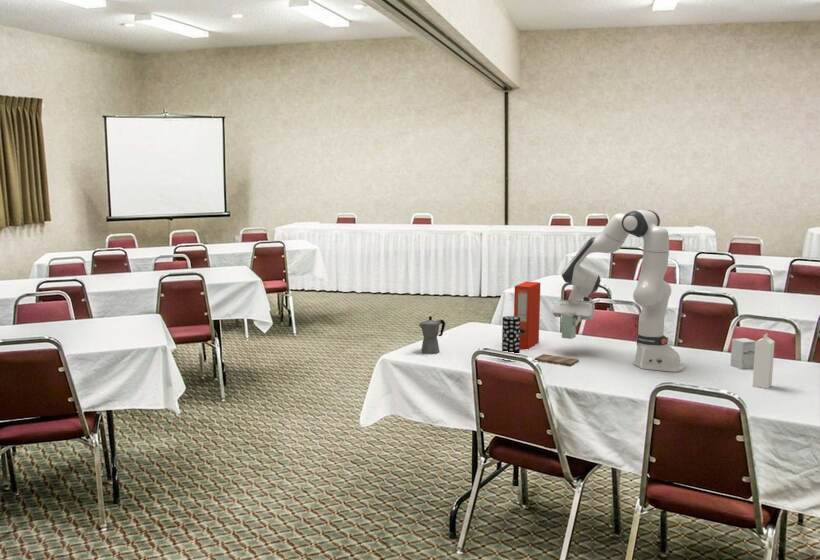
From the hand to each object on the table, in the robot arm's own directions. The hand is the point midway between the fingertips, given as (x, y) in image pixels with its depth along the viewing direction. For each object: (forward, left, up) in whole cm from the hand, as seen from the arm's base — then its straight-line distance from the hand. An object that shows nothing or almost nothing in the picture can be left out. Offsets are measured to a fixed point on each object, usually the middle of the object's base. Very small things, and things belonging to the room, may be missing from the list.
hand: (568, 324), depth 354 cm
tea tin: (0, 0, -6) cm, 6 cm away
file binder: (+26, -8, -16) cm, 32 cm away
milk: (-87, +3, -16) cm, 88 cm away
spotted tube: (+20, +21, -16) cm, 33 cm away
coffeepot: (+59, +30, -16) cm, 68 cm away
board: (0, +13, -16) cm, 20 cm away
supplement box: (-74, -25, -16) cm, 80 cm away
